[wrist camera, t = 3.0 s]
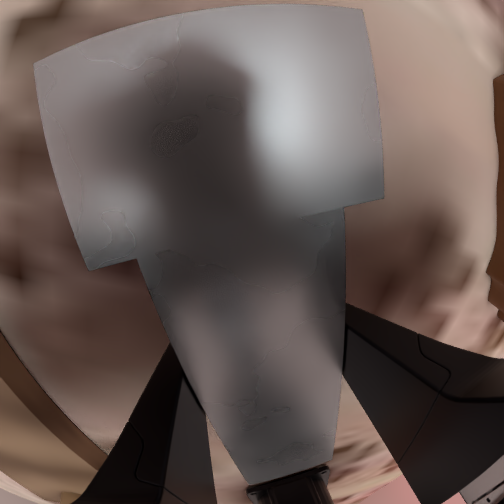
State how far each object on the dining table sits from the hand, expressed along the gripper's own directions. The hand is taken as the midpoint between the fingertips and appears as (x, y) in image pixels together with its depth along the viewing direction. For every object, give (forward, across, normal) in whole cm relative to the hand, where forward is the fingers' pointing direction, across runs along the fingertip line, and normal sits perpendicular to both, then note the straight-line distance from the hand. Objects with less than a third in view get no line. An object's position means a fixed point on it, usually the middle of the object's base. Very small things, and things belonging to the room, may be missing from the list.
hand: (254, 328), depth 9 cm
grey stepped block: (+1, 0, 0) cm, 1 cm away
